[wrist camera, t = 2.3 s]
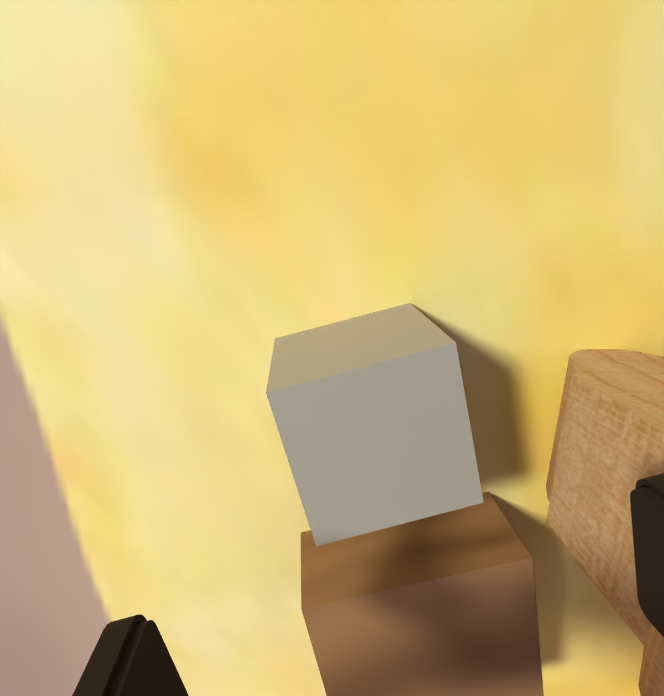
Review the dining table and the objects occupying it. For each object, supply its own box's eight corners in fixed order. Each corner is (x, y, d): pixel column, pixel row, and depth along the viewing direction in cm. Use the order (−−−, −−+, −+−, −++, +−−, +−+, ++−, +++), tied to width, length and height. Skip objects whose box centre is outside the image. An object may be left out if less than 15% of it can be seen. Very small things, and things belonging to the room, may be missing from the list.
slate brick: (275, 338, 16) (266, 392, 12) (409, 302, 16) (455, 342, 11) (311, 455, 18) (316, 546, 13) (434, 423, 18) (483, 502, 13)
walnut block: (300, 528, 19) (301, 608, 15) (485, 487, 19) (532, 557, 15) (337, 664, 21) (346, 762, 18) (501, 627, 22) (545, 718, 18)
